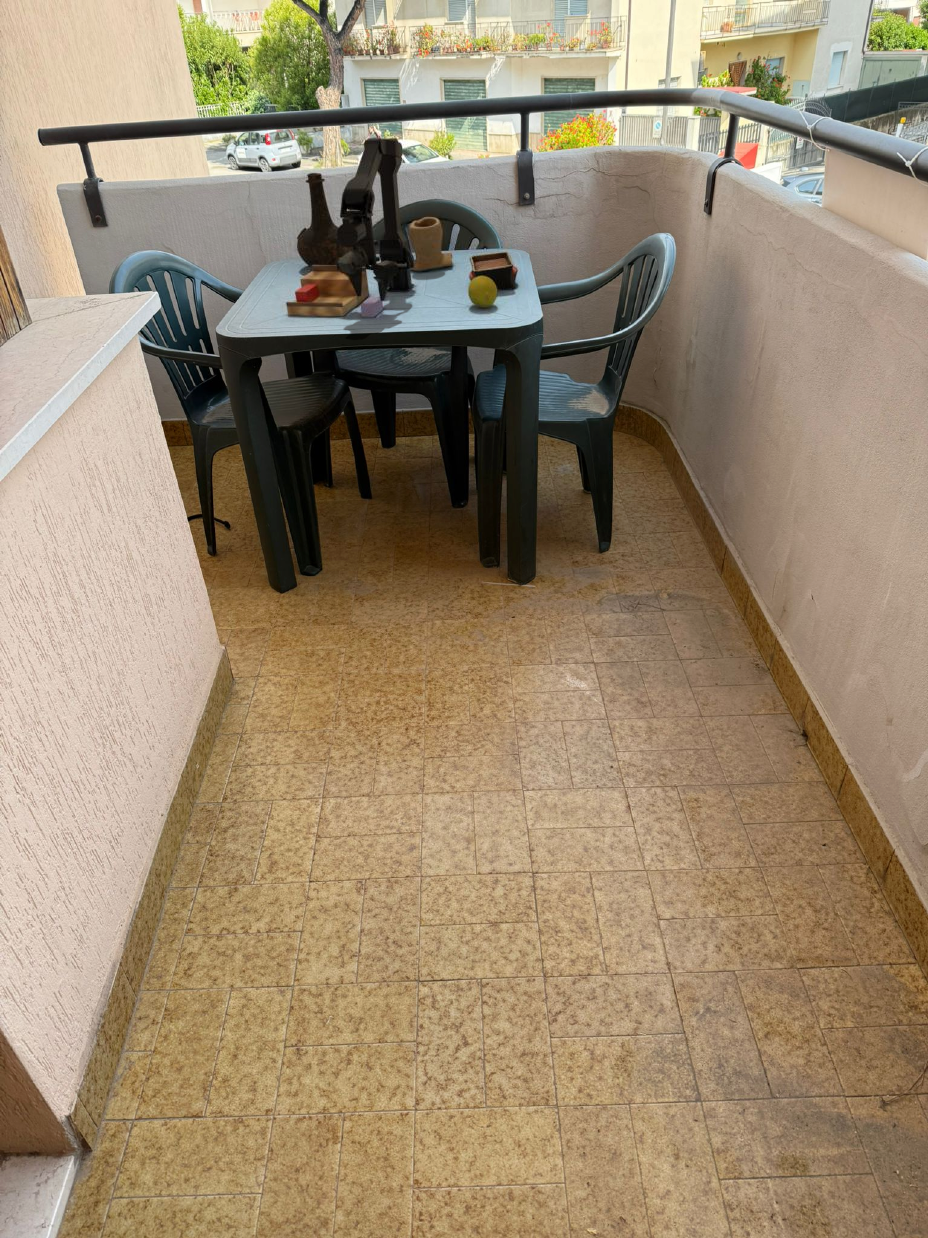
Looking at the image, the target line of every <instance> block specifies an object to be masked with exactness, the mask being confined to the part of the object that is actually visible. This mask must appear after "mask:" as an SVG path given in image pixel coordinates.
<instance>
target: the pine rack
mask: <svg viewBox="0 0 928 1238" xmlns="http://www.w3.org/2000/svg"><path fill="white" fill-rule="evenodd" d="M340 271H342V270H337V265H312V267H311V271H310V272H308V273H307V274H305V275H304V276H302V277H301V278H300V288H301V287H303V286H304V285H306V284H317V286H318V293H319V297H318V298H316V299H315V300H313V301H312V302H297V301H296V299H295V300H293V301H286V302H285V306H286V311H287V315H288V316H304V317H305V316H310V317H311V316H313V317H316V316H317V317H344V316H346V315H347V314H348V313H349V312H351V311H352V310H353V309H354V308H355V307H357V306H358V305H359V304H361V303H363V302H364V301H365V300H366V299H367V298H369V297H370V288H369V281H368V272H367V269H362V292H361V296H359V297H358V296H357V294H356V292H355V290H354V288H353V286H352V284H351V282H350V280H349V278H348V277H347V276H346V275H344V274H343V273H341V272H340Z"/></svg>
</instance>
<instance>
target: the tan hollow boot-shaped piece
mask: <svg viewBox="0 0 928 1238" xmlns="http://www.w3.org/2000/svg"><path fill="white" fill-rule="evenodd" d="M408 232H409V234H408V235H409V241H410V244H411V247H412V249H413V252H414V256H415V258H414V268H410V270H413V271H416V272H417V271H418V272H419V271H420V272H421V271H429V270H435V269H440V268H447V267H451V266H453V253H452V252H446V253H443V252H442V244H443V234H444V233H443V232H444V231H443V227H442V224H441V221H440V220H439V219H438V218H437V217H434V216H425V217H422V218H420V219H417V220H413V221H412V222H411V223H410V224H409V227H408Z"/></svg>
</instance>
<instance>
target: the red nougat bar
mask: <svg viewBox="0 0 928 1238" xmlns="http://www.w3.org/2000/svg"><path fill="white" fill-rule="evenodd" d="M294 294H295V300H296V301H297V302H312V301H313V300H315V299H316V298H318V297H319V293H318V286H317V284H306V285H304V286H303V287H301V286H300V287H299V288H298V289H297V290H295V291H294Z"/></svg>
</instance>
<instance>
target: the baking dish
mask: <svg viewBox="0 0 928 1238" xmlns="http://www.w3.org/2000/svg"><path fill="white" fill-rule="evenodd" d="M469 261H470V265H471V268H472V269H471V271H470V272H469V274H468V278H469V280H470V282H471V281H472V280H473V279H474V278H476V277H478V276H486V277H488V278H490V279H491V280H493V282H494V283H495V285H496V287H497V290H502V291H503V290H504V291H507V290H515V289H516V287H515V286H516V279H517V276H518V275H517V274H518V272H519V269H518V267H516V266H515V265H514V262H513V260H512V257H511V255H510V252H509V251H500V252H489V253H481V254H475V255H474V254H473V255H471V256H470V257H469Z"/></svg>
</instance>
